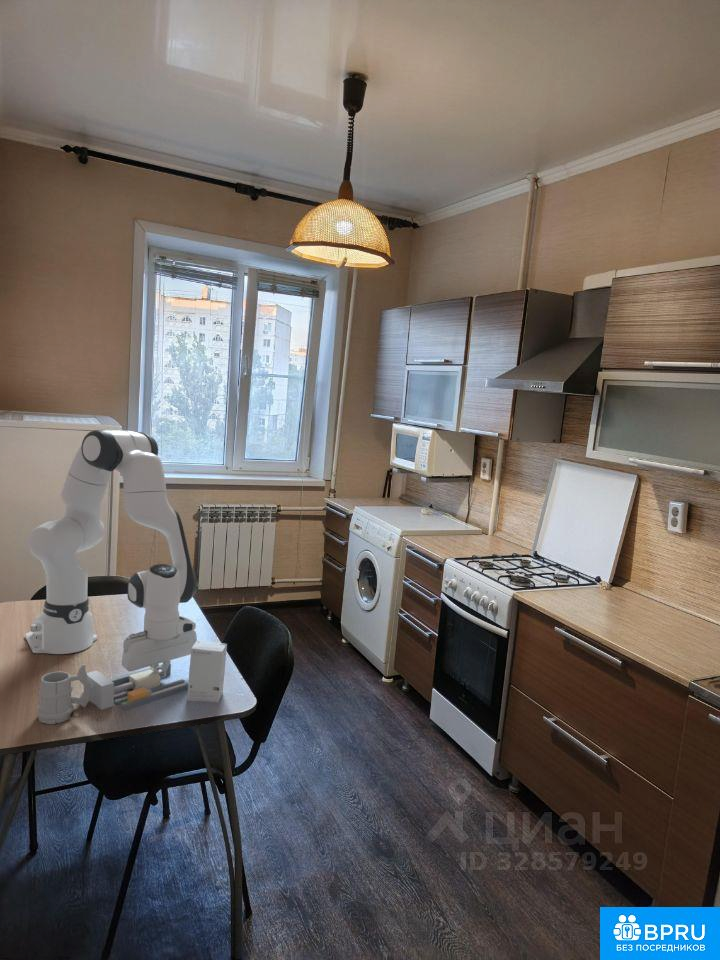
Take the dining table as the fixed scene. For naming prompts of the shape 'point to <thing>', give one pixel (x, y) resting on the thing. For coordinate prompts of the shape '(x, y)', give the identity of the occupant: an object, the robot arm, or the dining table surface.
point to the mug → (61, 695)
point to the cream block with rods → (140, 682)
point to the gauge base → (105, 696)
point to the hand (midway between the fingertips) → (159, 677)
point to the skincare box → (206, 671)
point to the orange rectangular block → (137, 694)
